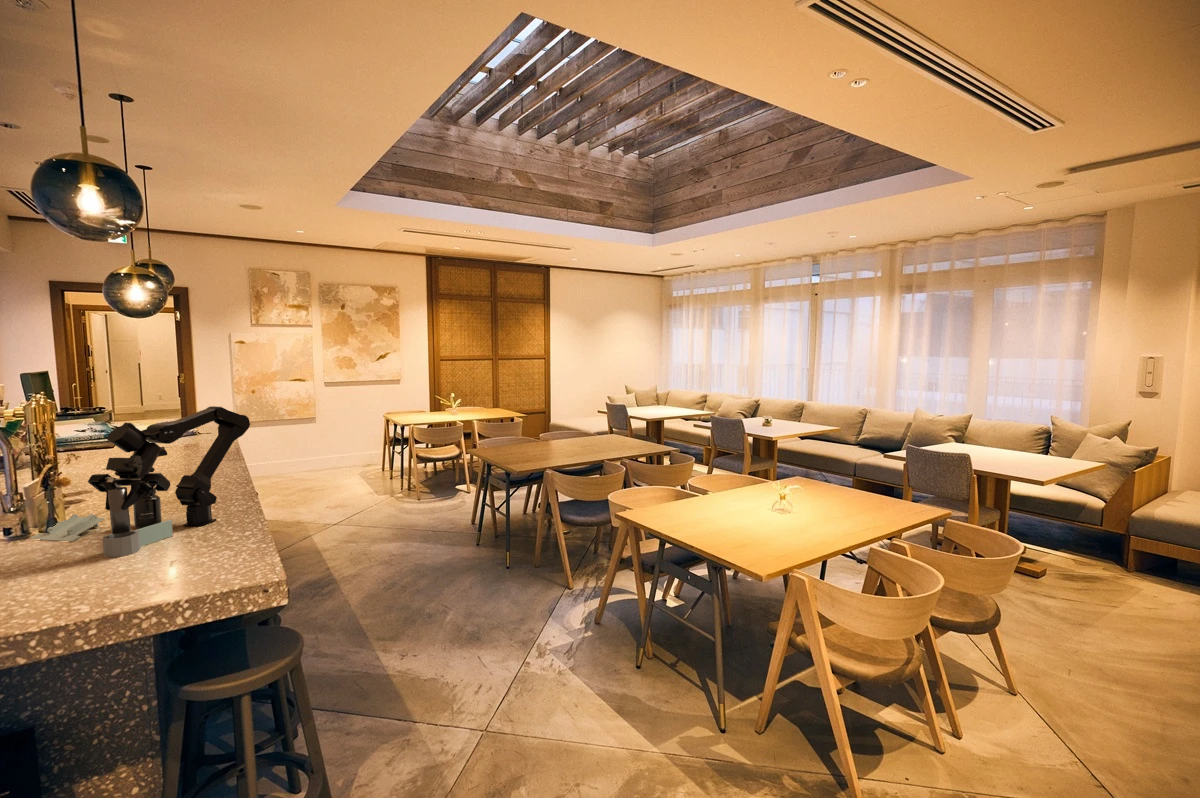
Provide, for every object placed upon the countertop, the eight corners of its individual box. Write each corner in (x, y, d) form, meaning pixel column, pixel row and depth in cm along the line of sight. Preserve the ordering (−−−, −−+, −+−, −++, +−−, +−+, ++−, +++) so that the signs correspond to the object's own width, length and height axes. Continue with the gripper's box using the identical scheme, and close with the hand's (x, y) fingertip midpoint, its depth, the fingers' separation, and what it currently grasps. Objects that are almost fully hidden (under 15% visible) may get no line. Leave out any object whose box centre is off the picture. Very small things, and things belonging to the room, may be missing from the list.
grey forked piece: (136, 535, 171) (134, 519, 170) (176, 536, 170) (175, 520, 169) (78, 556, 153) (76, 538, 153) (122, 557, 152) (121, 539, 152)
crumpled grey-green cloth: (71, 509, 179) (111, 511, 176) (78, 525, 181) (118, 527, 178) (21, 536, 166) (63, 539, 163) (30, 553, 168) (71, 556, 165)
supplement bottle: (144, 529, 176) (141, 491, 175) (129, 527, 178) (126, 490, 177) (167, 523, 182) (164, 486, 181) (152, 521, 185) (149, 485, 184)
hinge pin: (121, 528, 158) (117, 486, 157) (134, 529, 158) (130, 487, 157) (107, 533, 154) (103, 490, 153) (121, 534, 154) (117, 490, 153)
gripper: (90, 445, 157) (58, 495, 147) (159, 444, 158) (132, 493, 148) (115, 467, 166) (86, 515, 156) (181, 466, 167) (157, 514, 157)
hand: (115, 509), depth 154 cm, fingers closed on hinge pin, 4 cm apart
